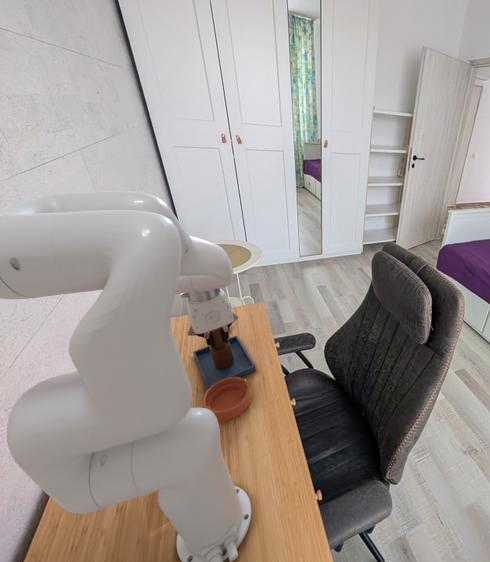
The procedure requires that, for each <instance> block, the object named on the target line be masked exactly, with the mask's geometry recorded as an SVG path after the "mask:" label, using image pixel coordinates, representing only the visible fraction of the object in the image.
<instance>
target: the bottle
mask: <svg viewBox="0 0 490 562" xmlns="http://www.w3.org/2000/svg"><path fill="white" fill-rule="evenodd" d="M209 332H210V335H211V337H212V340H213V343H214V347H215V348H213V349H212V347H211V345H209V346H210V348H209V349H210V352H211V355H212V358H213V361H214V365H215V367H216V368H218V369H224V368H227V367H229V366H230V365H232V363H233V362H234V358H233V354H232V350H231V346H230V343H229V341H228V343H225V341H224V338H223V334H222V330H221V327H220V328H217V329H214V330H211V331H209Z"/></svg>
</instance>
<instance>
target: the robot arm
mask: <svg viewBox="0 0 490 562" xmlns="http://www.w3.org/2000/svg"><path fill="white" fill-rule="evenodd" d="M233 281H234V268H233V264H232V262H231V259H230V258H229V255H228V254H227V252H226V250H225V249H224V248H223V247H222V246H220V245H219V244H217V243H214V242H213V241H208V240H207V239H206V240H205V239H203V238H200V237H197V236H193V235H189V234H188V232H187V231H186V230H185V228H184V226H183V225H182V224H181V222H180V220H179V219H178V217H177V216H176V215H175V213H174V212H173V210H172V209H171V208H170V206H169V205H168V204H167V203H166V202H165V201H164V200H162V199H161V198H159V197H158V196H156V195H153V194H151V193H148V192H145V191H137V190H136V191H135V190H133V191H132V190H110V191H109V190H106V191H103V190H101V191H66V192H64V191H63V192H55V193H49V194H45V195H40V196H37V197H33V198H30V199H26V200H23V201H20V202H17V203H13V204H11V205H7V206H4V207H2V208H0V299H4V300H28V299H29V300H30V299H38V298H45V297H53V296H61V295H69V294H70V295H71V294H78V293H87V292H94V291H101V292H100V293H99V295H98V297H97V299H96V300H95V301H94V302H93V304H92V305H91V307H90V308H89V309H88V310H87V311H86V312H85V314H84V315H83V316H82V318H81V319H80V320H79V322H78V324H77V325H76V327H75V329H74V331H73V332H72V335H71V337H70V340H69V342H68V343H69V344H68V355H69V356H70V359H71V362H72V363H73V365H74V367H75V369H76V371H71V372H68V373H64V374H60V375H56V376H53V377H49V378H47V379H45V380H44V379H43V380H42V381H40V382H38V383H36V384H34V385H33V386H31V387H30V388H29V389H27V390H26V391H25V392H23V393H22V395H21V396H19V397H18V399H17V400H16V402H15V403H14V404H13V406H12V409H11V411H10V412H9V415H8V419H7V423H6V442H7V447H8V450H9V453H10V456H11V457H12V459H13V460H14V462H15V463H16V465H17V466H18V467H19V468H20V469H21V470H22V471H23V472H24V473H25V474H26V475H27V476H28V477H29V478H30V479H31V480H32V481H33V482H34V483H35V484H36V485H37V486H38V487H39V488H40V489H41V490H42V491H43V492H44V493H45V494H46V495H47V496H48V497H50V498H51V499H52V500H53V501H54V502H55V503H56V504H57V505H58V506H59V507H61V508H62V509H63V510H65V511H66V512H68V513H71V514H77V515H81V514H82V515H83V514H90V513H95V512H97V511H100V510H103V509H107V508H111V507H113V506H116V505H119V504H122V503H126V502H127V501H130V500H131V501H132V500H134V499H137V498H139V497H142V496H147V495H149V494H153V493H156V492H157V503H158V505H159V508H160V510H161V512H162V513H163V514H164V516H165V517H166V518H167V519H168V521H169V523H170V524H171V525H172V526H173V528H174V530H175V531H176V532H177V535H176V544H175V545H176V552H177V556H178V558H179V560H180V561H181V562H224V561H226V560H227V559H229V562H233V561H235V560H236V559H237V558H238V556H239V552H238V550H237V549H238V548H239V546H240V545H241V544H242V542H243V541H244V539H245V537H246V535H247V533H248V531H249V528H250V526H251V521H252V514H253V513H252V510H253V509H252V503H251V500H250V497H249V495H248V494H247V492H245V490H244V489H242V488H241V487H239V486H236V485H235V484H234V481H233V477H232V476H231V474H230V471H229V467H228V465H227V463H226V460H225V457H224V455H223V450H222V441H221V431H220V424H219V422H218V420H217V418H216V416H215V414H214V413H213V412H212V411H211V410H209V409H206V408H204V407H198V406H197V407H192V404H193V396H194V395H193V388H192V385H191V381H190V378H189V375H188V371H187V369H186V367H185V364H184V362H183V358H182V356H181V354H180V351H179V349H178V345H177V342H176V340H175V337H174V334H173V331H172V326H171V323H172V321H171V320H172V319H171V318H172V311H173V307H174V306H173V305H174V302H175V298H176V295H180V297H181V299H183V298H186V299H185V300H186V301H185V304H186V311H187V316H188V321H189V324H188V326H187V330H186V334H187V336H189V337H190V336H191V337H192V336H193V337H195V336H196V337H199V338H200V337H201V338H204V340H205V342H206V345H207V346H210V345H211V347H212V349H213V348H215V347H214V343H213V340H212V337H211V335H210V333H209V331H211V330H214V329H217V328H220V327H221V330H222V334H223V338H224V341H225V343H228V340H227V339H228V338H230V335H229V331H230V327H231V326H232V325H233V323H235V322H236V321H238V319H239V316H238V315H237V314H236V313H235V312H234V311H233V310H232V309H231V307H232V306H231V307H230V304H229V302H230V301H229V298H228V296H227V294H226V292H225V291H224V290H223V289H224V288H227V287H229V286H230V285H231V284H232V282H233Z"/></svg>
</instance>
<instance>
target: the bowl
mask: <svg viewBox="0 0 490 562" xmlns="http://www.w3.org/2000/svg"><path fill="white" fill-rule="evenodd" d="M250 385H251V384H249V381H247V380H246V379H245V378H244V377H243V378H240V377H229V378H225V379H222V380H220V381H218V382H216V383H215V384H213V385H212V386H211V387H210V388H209V389H208V390H207V389H206V391H205V393H204V395H203V396H202V405H203V408H206V409H209V410H211V411H212V412H213V413H214V414H215V416H216V418H217V420H218V423H219V422H228V421H232V420H234V419H235V418H237V417H239V416H241V415H242V414H243V413H245V411H247V410H248V408H249V407H250V405H251V403H252V399H253V393H252V390H251V386H250Z"/></svg>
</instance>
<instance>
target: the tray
mask: <svg viewBox="0 0 490 562" xmlns="http://www.w3.org/2000/svg"><path fill="white" fill-rule="evenodd" d="M227 340H228V341H229V343H230V346H231V350H232V354H233V358H234V362H233V363H232V365H230V366H229V367H227V368H224V369H218V368H216V367H215V365H214V361H213V358H212V355H211V352H210V349H209V348H210V345H209V346H208V345H207V346H204V347H202V348H199V349H197V350H193V351H192V353H193V356H194V359H195V361H196V364H197V366H198V370H199V372H200V374H201V377H202V379H203V382H204V385H205V387H206V391H207V390H208V389H209V388H210V387H211V386H212V385H213V384H215V383H216V382H218V381H220V380H222V379H225V378H229V377H240V378H243V379H244V378H245V377H247V376H249V375H252V374H254V373H256V372H257V368H256V364H255V363H254V362H253V360H252V358H251V357H250V355H249V353H248V351H247V350H246V348H245V347H244V345H243V343H242V341H241V340H240V338H239V337H238V335H234V336H231V337H229V338H228V339H227Z"/></svg>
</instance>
